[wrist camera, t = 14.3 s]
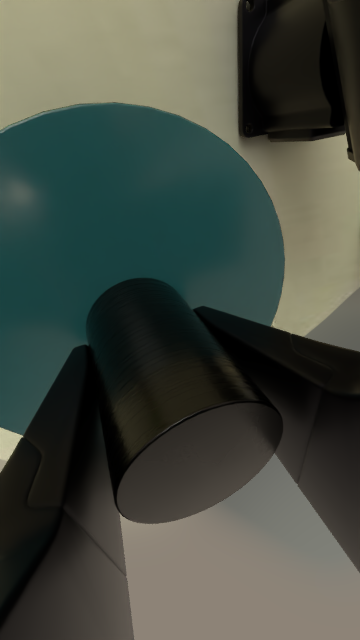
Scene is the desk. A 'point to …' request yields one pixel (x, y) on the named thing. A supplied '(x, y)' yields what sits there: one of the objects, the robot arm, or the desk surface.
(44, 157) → the lid
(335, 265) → the desk surface
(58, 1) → the desk surface
